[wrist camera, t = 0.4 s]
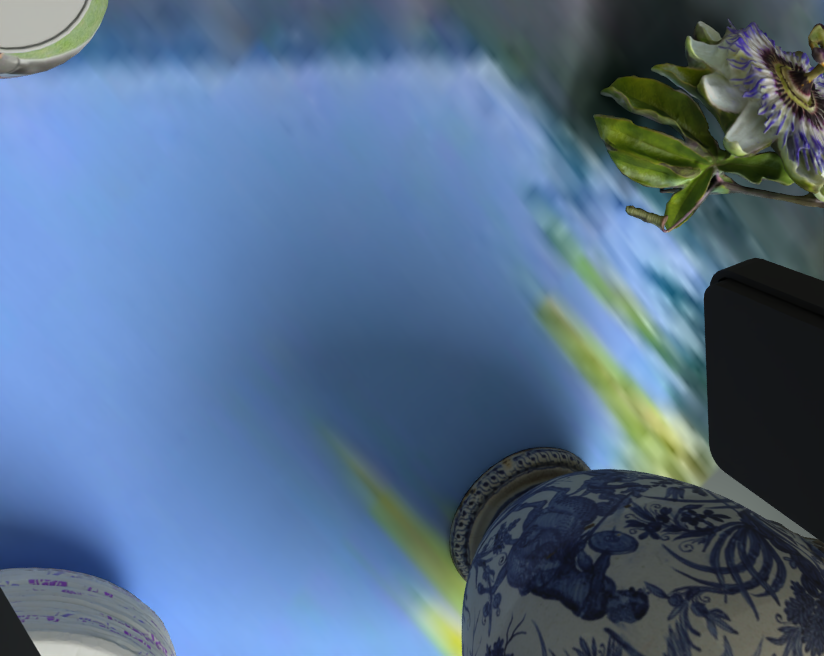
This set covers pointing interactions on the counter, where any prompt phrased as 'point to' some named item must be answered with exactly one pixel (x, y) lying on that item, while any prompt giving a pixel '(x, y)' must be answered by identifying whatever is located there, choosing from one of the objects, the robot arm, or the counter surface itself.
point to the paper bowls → (83, 615)
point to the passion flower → (723, 122)
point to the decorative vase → (627, 567)
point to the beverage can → (45, 33)
